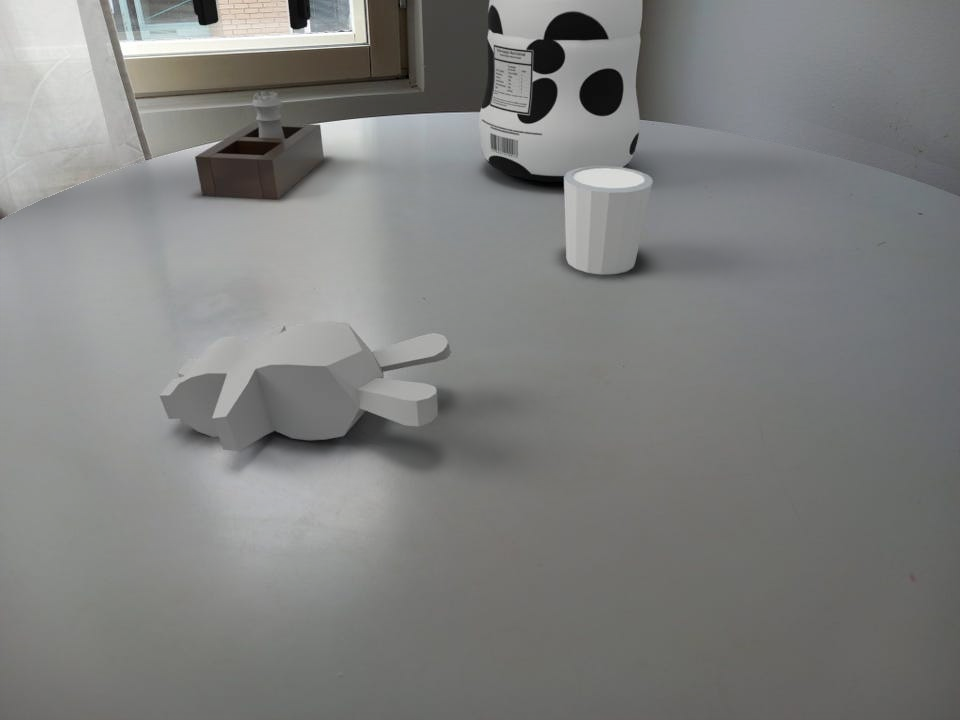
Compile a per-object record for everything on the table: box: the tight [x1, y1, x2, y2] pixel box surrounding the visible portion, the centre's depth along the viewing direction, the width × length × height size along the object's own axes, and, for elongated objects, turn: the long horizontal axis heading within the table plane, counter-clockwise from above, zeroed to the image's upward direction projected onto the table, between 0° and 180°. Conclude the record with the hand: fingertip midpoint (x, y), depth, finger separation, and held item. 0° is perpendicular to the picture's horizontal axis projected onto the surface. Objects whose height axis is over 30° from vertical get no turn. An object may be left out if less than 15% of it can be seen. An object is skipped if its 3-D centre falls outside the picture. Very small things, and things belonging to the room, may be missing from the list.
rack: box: [194, 121, 325, 200], centre depth 80 cm, size 8×14×4 cm, turn 172°
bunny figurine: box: [159, 320, 452, 452], centre depth 41 cm, size 10×5×15 cm
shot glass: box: [563, 166, 654, 275], centre depth 59 cm, size 7×7×7 cm
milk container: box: [478, 0, 643, 183], centre depth 78 cm, size 17×17×18 cm
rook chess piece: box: [251, 91, 285, 139], centre depth 81 cm, size 4×4×8 cm
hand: (254, 26), depth 76 cm, fingers open, 9 cm apart
